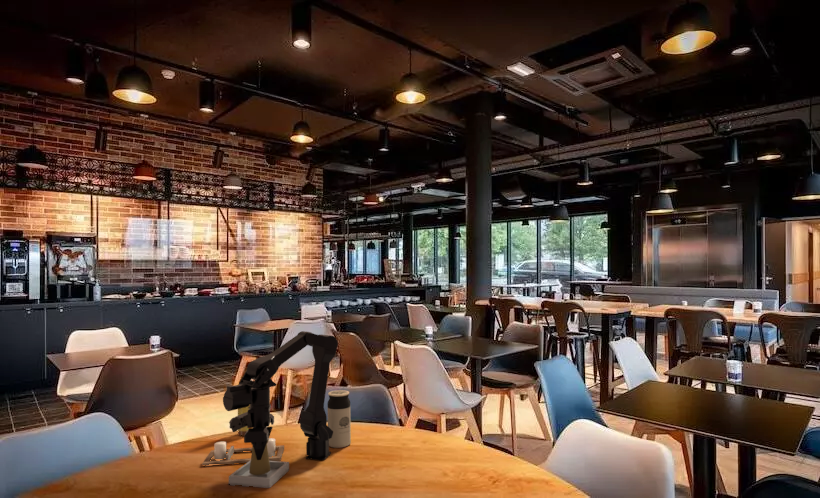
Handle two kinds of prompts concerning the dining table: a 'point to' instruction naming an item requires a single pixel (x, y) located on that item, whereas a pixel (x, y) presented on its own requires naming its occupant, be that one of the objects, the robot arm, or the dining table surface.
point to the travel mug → (339, 418)
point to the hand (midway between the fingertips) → (260, 456)
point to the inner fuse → (271, 447)
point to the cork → (260, 463)
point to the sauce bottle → (240, 411)
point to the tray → (262, 480)
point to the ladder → (230, 453)
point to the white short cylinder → (220, 450)
